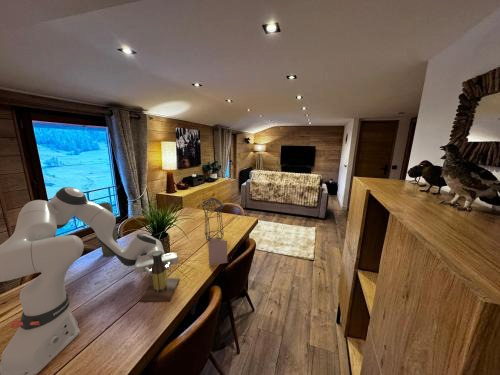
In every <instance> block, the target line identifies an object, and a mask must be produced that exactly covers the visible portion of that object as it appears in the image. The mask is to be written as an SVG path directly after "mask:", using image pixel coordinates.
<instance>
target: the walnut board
mask: <svg viewBox="0 0 500 375" xmlns="http://www.w3.org/2000/svg"><path fill="white" fill-rule="evenodd" d="M166 278H167V277H166ZM179 282H180V278H178V277H177V278H167V288H166V290H165V291H163V292H160V293H156V292H155V291H154V286H153V279H151V281H150V282H149V284H148V286H147V287H146V288H145V291H144V292H143V294H142V296H141V297H140V299H139V303H167V302H169V303H170V302H171V300H172V298H173V296H174V294H175V291H176V289H177V287H178V285H179Z"/></svg>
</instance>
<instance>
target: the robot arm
mask: <svg viewBox="0 0 500 375" xmlns="http://www.w3.org/2000/svg"><path fill="white" fill-rule="evenodd" d="M74 217H75V218H78V220H80V221H81V222H83V223H84V224H85V225H87V226H89V227H90V228H91V229H92V230H93V231H94V233H95V238H96V240H97V241H98V242H99V243H100V244H101V246H102V245H103V246H104V247H106V248H107V249H108V250H109V251H110V252H111V253H113V254H114V256H115V257H116V258H117V260H119V261H120V263H121V264H123V265H124V266H126V267H133V266H134V271H135V274H141V273H147V274H148V275H152V265H153V256H152V254H153V253H155V252H161V253H162V256H161V257H162V262H164V264H165V269H166V271H167V270H168V271H169V270H170V267H171V266H172V265H177V264H178V263H179V256H178V254H177V252H174V251H173V252H172V251H171V252H167V253H165V250H164V246H163V243H162V242H161V241H160V240H159V239H158V238H156V237H155V236H154V235H151V234H150V233H147V232H142V233H141V232H140V233H137V234H136V235H135V237H133V239H132V240H131V241H130V242H129V244H128V245H127V247H126V248H123V247H122V245H120V244H119V242H118V241H117V242H118V243H117V242H115V241H114V239H113V236H112V234H113V230H114V227H115V226H116V221H117V220H116V216H115V214H114V212H113V213H111V212H110V211H109V210H107V209H105V208H104V207H102V206H100V205H99V203H95V202H94V201H91V200H88V198H87V196H86V195H85V193H84V192H83V191H82V190H80V189H78V188H77V187H72V186H64V187H62V188H60V189H59V190H57V191H56V193H55V195H54V196H53V197H51V199H50V200H49V201H47V200H44V199H43V200H42V199H35V200H32V201H29V202H27V203H26V204H24V205H23V207H22V208H21V210H20V211H19V214H18V217H17V220H16V225H15V229H14V232H13V234H12V235H11V236H9V238H7V239H6V240H5V241H4V242H3V243H1V244H0V283H1V282H7V281H11V280H14V279H15V280H16V279H19V278H23V277H25V276H29V275H33V274H38V273H41V274H39V275H38V276H36V277H35V278H33V279H31V281H29V282H28V283H27V284H26V285H25V286H24V287H23V288H22V289H21V291H20V293H19V300H20V304H21V308H22V313H21V316H20V320H13V321H12V322H11V323H10V326H9V328H11V329H14V328H16V329H17V328H18V329H17V330H16V332H15V333H14V335H13V336H12V337H11V339H10V341H9V342H8V344H7V345H6V347H4V350H3V351H2V353H1V357H0V375H38V373H39V372H41V371H42V370H43V369H44V368H45V367H46V366H47V365H48V364H49V363H50V362H51V361H52V360H53V359H54V358H56V356H58V355H59V354H60V353H61V352H62V351H63V350H64V349H65V348H66V347H67V346H68V345H70V343H71V342H72V341H74V340H75V338H77V336H78V335H80V333H81V330H80V328H79V322H78V320H77V318H75V317H74V315H73V314H74V313H73V312H72V309H71V308H70V298H69V295H68V293H67V292H66V285H65V283H66V281H65V278H66V274H67V272H68V270H69V269H70V267H71V266H72V265H73V264H74V263H75V262H76V261H77V260H79V259H80V257H81V256H82V254H83V252H84V248H85V247H84V242H83V240H82V239H81V237H79V236H77V235H75V234H72V235H71V234H69V235H56V234H57V231H58V230H60V229H63V228H64V227H65V226H67V225H68V224H69V222H70V221H71V219H72V218H74Z"/></svg>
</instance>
